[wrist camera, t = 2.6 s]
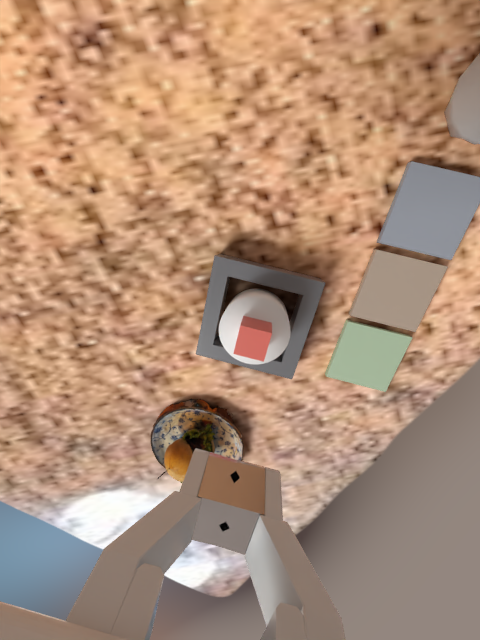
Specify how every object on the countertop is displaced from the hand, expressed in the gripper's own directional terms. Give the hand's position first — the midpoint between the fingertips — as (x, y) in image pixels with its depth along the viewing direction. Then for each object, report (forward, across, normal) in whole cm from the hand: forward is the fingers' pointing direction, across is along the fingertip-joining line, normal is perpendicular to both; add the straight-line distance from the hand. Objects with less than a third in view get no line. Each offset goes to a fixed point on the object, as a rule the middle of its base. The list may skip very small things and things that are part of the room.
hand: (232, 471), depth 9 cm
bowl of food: (+19, +3, +18) cm, 26 cm away
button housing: (+19, 0, 0) cm, 19 cm away
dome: (+17, 0, 0) cm, 17 cm away
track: (+19, -12, -6) cm, 23 cm away
